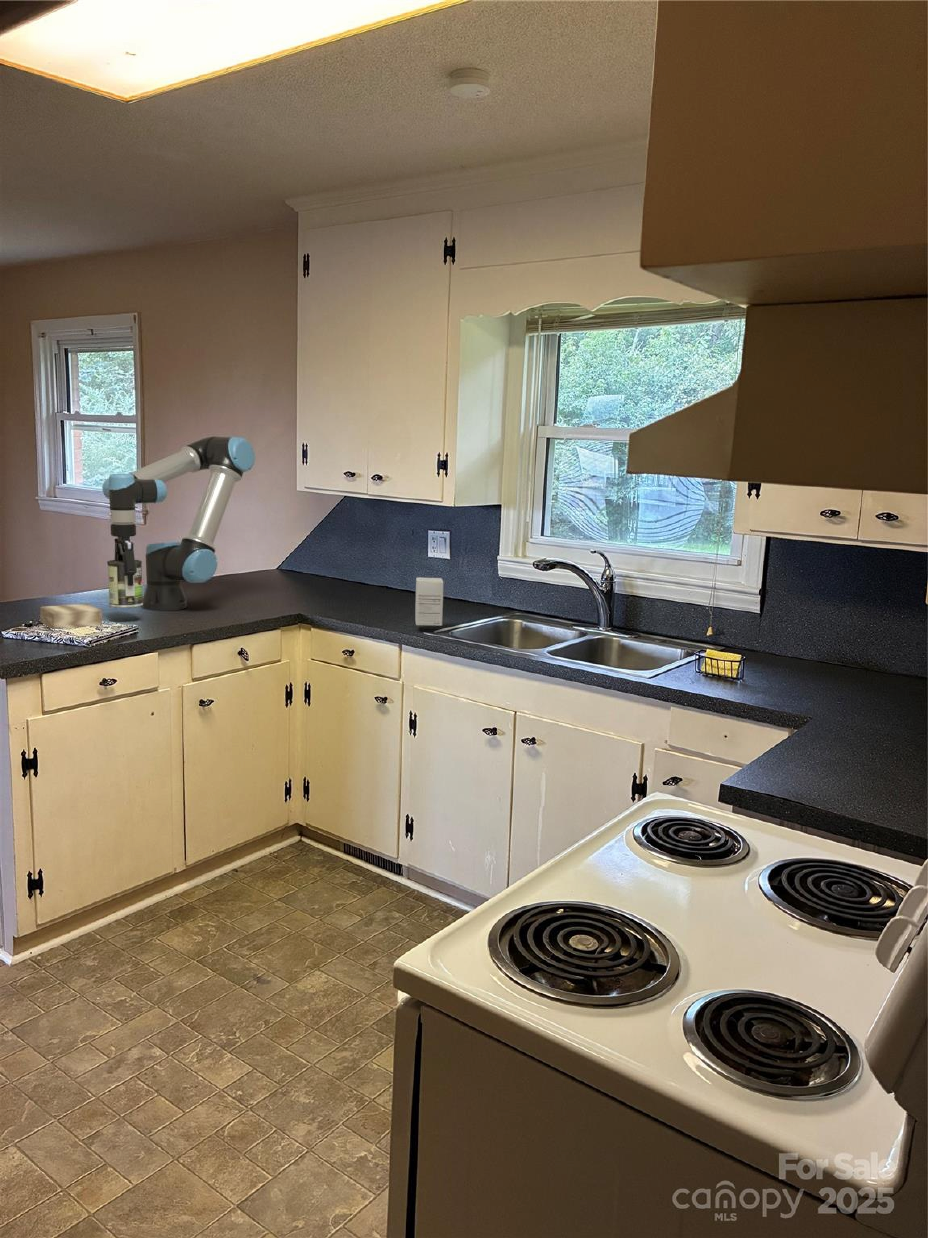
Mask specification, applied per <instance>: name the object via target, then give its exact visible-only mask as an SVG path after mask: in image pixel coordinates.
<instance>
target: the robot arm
mask: <svg viewBox="0 0 928 1238" xmlns="http://www.w3.org/2000/svg"><path fill="white" fill-rule="evenodd" d="M255 460H256V455H255V451H254V448H253V445H252V444H251V442H250V441H248V440H247V439H246V438H243V437H238V436H207V437H205V438H202V439H198V440H197V441H194V442H191V443H189V444H187V445H185V446H183V447H181V448H180V450H179V451H178V452H176V453H174V454H171V455H169V456H166V457H164V458H162V459H160V460H157V461H155V462H153V463H150V464H148V465H145V466H143V467H141V468H139V469H136V470H134V471H132V472H129V473H111V474H109V476H108V477H107V478H106V479H105V480H104V481H103V484H102V488H101V490H102V493H103V495H104V496H105V498H106V499H108V500H109V512H108V516H110V521H109V522H110V523H111V524H110V535H111V536H112V537H116V538H114V560H118V561H120V560H123V562H124V563H125V573H124V574H123V576H125V596H135V586H134V574H136V568H135V560H136V559H135V552H134V542H132V541H131V539H130V538H131V537H135V536H136V535H137V525H136V524H135V523H136V522H137V518H136V517H137V515H136V513H137V512H136V505H137V504H157V503H162V502H164V501H165V500H166V498H167V496H168V492H167V491H168V489H167V485H166V484H165V483H168V482H169V481H172V480H174V479H176V478H179V477H181V476H183V475H186V474H188V473H197V472H199V471H204V470H209V471H210V476H209V478H208V482H207V484H206V487H205V490H204V492H203V495H202V499H201V500H200V503H199V506H198V509H197V511H196V514H195V517H194V519H193V522H192V525H191V528H190V530H189V533H188V535H187V536H185V537H182V538H181V542H180V541H172V542H171V541H169V542H168V541H167V542H157V543H156V542H155V543H149V544H148V545H147V544H146V545H147V546H146V548H145V554H144V555H145V574H146V575H145V576H146V587H145V590H144V593H143V605H141V608H142V609H143V610H146V611H154V612H159V611H160V612H168V611H169V612H170V611H180V610H184V608H185V609H187V608H186V607H188V604H187V603H188V602H187V598H186V595H185V592H184V589H183V587H182V582H188V583H193V584H196V583H197V584H198V583H200V584H202V583H205V582H207V581H210V579H212V578H213V576H214V575H215V573H216V572H217V569H218V568H217V567H218V561H217V560H218V557H217V556H216V554H215V552H216V548H215V546H214V542H215V539H216V536H217V534H218V532H219V529H220V526H221V522H222V520H223V517H224V515H225V511H226V509H227V506H228V503H229V500H230V498H231V495H232V492H233V489H234V487H235V485H236V483H237V482H239V481H241V479H242V478H243V475H244V473H246V472H249V471H250V470H252V468H253V467H254V465H255V462H256V461H255Z"/></svg>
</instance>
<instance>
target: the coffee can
mask: <svg viewBox="0 0 928 1238" xmlns="http://www.w3.org/2000/svg"><path fill="white" fill-rule="evenodd" d="M106 563H107V577H108V599H109V602H108V603H109V607H113V608H125V609H126V608H136V607H142V605H143V596H144V593H143V575H142V574H143V571H142V570H143V569H142V568H143V566H142V560H140V559H135V568H136V574H134V586H135V596H125V576H123V574H124V573H125V563H124V562H123V560H120V561H118V560H115V559H113V560H112V559H111V560H108V561H106Z"/></svg>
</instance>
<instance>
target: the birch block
mask: <svg viewBox="0 0 928 1238" xmlns="http://www.w3.org/2000/svg"><path fill="white" fill-rule="evenodd" d="M39 609H40V610H39V611H40V624H41V623H43V624H45V625H46V626H48V627H49V628H52V629H54V630H55V629H59V628H74V627H86V626H97V625H98V626H99V625H100V626H101V625H102V626H103V614H102V613H103V610H102V609H100V608H98V607H95V606H94V605H91V604H89V603H79V604H77V603H76V604H61V605H48V606H47V605H46V606H40V607H39ZM49 628H48V629H49Z"/></svg>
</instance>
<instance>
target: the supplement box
mask: <svg viewBox="0 0 928 1238" xmlns="http://www.w3.org/2000/svg"><path fill="white" fill-rule="evenodd" d="M414 605H415V606H414V607H415V608H414V609H415V610H414V611H415V612H414V613H415V616H414V617H415V618H414V620H415V625H416V626H443V612H444V611H443V610H444V609H443V608H444V580H443V578H441V577H416V579H415V604H414Z"/></svg>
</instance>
